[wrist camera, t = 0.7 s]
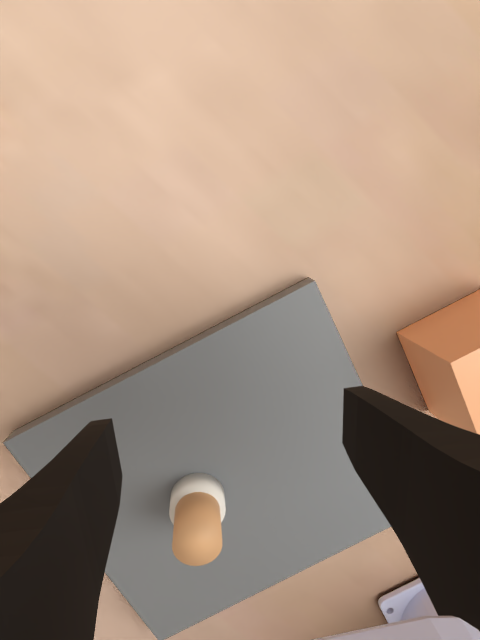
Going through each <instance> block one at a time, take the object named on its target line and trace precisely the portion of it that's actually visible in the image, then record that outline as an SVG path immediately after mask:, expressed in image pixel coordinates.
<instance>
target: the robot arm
mask: <svg viewBox="0 0 480 640" xmlns="http://www.w3.org/2000/svg"><path fill="white" fill-rule="evenodd" d="M342 443H343V446H344V448H345V450H346V452H347V455H348V457H349V459H350V461H351V463H352V465H353V467H354V469H355V471H356V473H357V474H358V476H359V477H360V479H361V481H362V482H363V484H364V485H365V487H366V488H367V490H368V492H369V493H370V495H371V496H372V498H373V499H374V501H375V502H376V504H377V505H378V507H379V508H380V510H381V511H382V513H383V515H384V516H385V518H386V519H387V521H388V522H389V524H390V525H391V527H392V528H393V530H394V531H395V533H396V535H397V536H398V538H399V540H400V542H401V543H402V545H403V547H404V549H405V551H406V553H407V554H408V556H409V558H410V560H411V562H412V564H413V566H414V568H415V570H416V572H417V574H418V576H419V578H418V579H416V580H414V581H412V582H410V583H408V584H406V585H404V586H402V587H400V588H398V589H396V590H394V591H392V592H390V593H388V594H386V595H384V596H382V597H380V599H379V600H378V605H379V607H380V609H381V611H382V613H383V614H384V616H385V618H386V620H387V622H388V624H384V625H379V626H374V627H370V628H365V629H360V630H355V631H350V632H346V633H341V634H336V635H331V636H326V637H322V638H317V639H312V640H480V435H479V434H476V433H473V432H470V431H467V430H464V429H462V428H459V427H456V426H453V425H451V424H448V423H446V422H443V421H441V420H438V419H436V418H433V417H431V416H429V415H426V414H424V413H422V412H419V411H417V410H415V409H413V408H411V407H408V406H406V405H404V404H402V403H400V402H398V401H396V400H394V399H391V398H389V397H387V396H385V395H383V394H381V393H378V392H376V391H374V390H372V389H369V388H367V387H364V386H357V387H349V388H344V396H343V433H342ZM122 476H123V475H122V469H121V464H120V459H119V453H118V448H117V443H116V437H115V432H114V426H113V421H112V418H110V419H102V420H95V421H90V422H89V423H88V424H87V425H86V426H85V427H84V428H83V429H82V430H81V431H80V432H79V433H78V434H77V435H76V436H75V437H74V438H73V439H72V440H71V441H70V442H69V443H68V444H67V445H66V446H65V447H64V448H63V449H62V450H61V451H60V452H59V453H58V454H57V455H56V456H55V457H54V458H53V459H52V460H51V461H50V462H49V463H48V464H47V465H45V466H44V467H43V468H42V469H41V470H40V471H39V472H38V473H37V474H35V475H34V476H33V477H32V478H31V479H30V480H29V481H28V482H27V483H25V484H24V485H23V486H22V487H21V488H20V489H18V490H17V491H16V492H15V493H13V494H12V495H11V496H10V497H8V498H7V499H6V500H4V501H3V502H2V503H0V640H93V639H94V631H95V624H96V616H97V609H98V602H99V596H100V591H101V586H102V581H103V577H104V572H105V568H106V564H107V559H108V555H109V551H110V547H111V542H112V538H113V534H114V529H115V525H116V521H117V516H118V512H119V507H120V498H121V487H122Z"/></svg>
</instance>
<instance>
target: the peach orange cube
mask: <svg viewBox="0 0 480 640" xmlns="http://www.w3.org/2000/svg"><path fill="white" fill-rule="evenodd" d="M397 335H398V337H399V340H400V342H401V345H402V347H403V349H404V352H405V354H406V357H407V359H408V362H409V364H410V366H411V369H412V371H413V374H414V376H415V379H416V381H417V383H418V386H419V388H420V391H421V393H422V396H423V398H424V400H425V403H426V405H427V408H428V410H429V411H430V412H431V413H432V414H433V415H434V416H436V417H437V418H438V419H439V420H441V421H443V422H446V423H448V424H451V425H453V426H456V427H459V428H462V429H464V430H467V431H470V432H473V433H476V434H479V435H480V290H478V291H476V292H474V293H472V294H470V295H468V296H466V297H464V298H462V299H460V300H458V301H456V302H454V303H452V304H450V305H448V306H446V307H444V308H443V309H441V310H439V311H437V312H435V313H433V314H431V315H429V316H427V317H425V318H423V319H421V320H419V321H417V322H415V323H413V324H411V325H409V326H407V327H406V328H404V329H402V330H400V331H398V332H397Z"/></svg>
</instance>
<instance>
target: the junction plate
mask: <svg viewBox="0 0 480 640" xmlns="http://www.w3.org/2000/svg"><path fill="white" fill-rule="evenodd" d="M357 386H363V385H362V383H361V381H360V378H359V376H358V374H357V372H356V370H355V368H354V365H353V363H352V361H351V359H350V357H349V354H348V352H347V350H346V348H345V346H344V343H343V341H342V339H341V337H340V335H339V333H338V330H337V328H336V326H335V324H334V322H333V319H332V317H331V315H330V313H329V311H328V308H327V306H326V304H325V302H324V300H323V298H322V295H321V293H320V291H319V289H318V287H317V284H316V282H315V281H314V280H313V279H311V278H309V277H308V278H306V279H304V280H302V281H301V282H299V283H297V284H295V285H293V286H291V287H289V288H287V289H285V290H283V291H281V292H279V293H277V294H276V295H274V296H272V297H270V298H268V299H266V300H264V301H262V302H260V303H258V304H256V305H254V306H253V307H251V308H249V309H247V310H245V311H243V312H241V313H239V314H237V315H235V316H233V317H231V318H229V319H228V320H226V321H224V322H222V323H220V324H218V325H216V326H214V327H212V328H210V329H208V330H206V331H204V332H203V333H201V334H199V335H197V336H195V337H193V338H191V339H189V340H187V341H185V342H183V343H181V344H180V345H178V346H176V347H174V348H172V349H170V350H168V351H166V352H164V353H162V354H160V355H158V356H156V357H155V358H153V359H151V360H149V361H147V362H145V363H143V364H141V365H139V366H137V367H135V368H133V369H131V370H130V371H128V372H126V373H124V374H122V375H120V376H118V377H116V378H114V379H112V380H110V381H108V382H107V383H105V384H103V385H101V386H99V387H97V388H95V389H93V390H91V391H89V392H87V393H85V394H83V395H82V396H80V397H78V398H76V399H74V400H72V401H70V402H68V403H66V404H64V405H62V406H60V407H58V408H57V409H55V410H53V411H51V412H49V413H47V414H45V415H43V416H41V417H39V418H37V419H35V420H34V421H32V422H30V423H28V424H26V425H24V426H22V427H20V428H18V429H16V430H14V431H13V432H12V433H11V434H10V435H9V437H8V438H7V439H6V440H5V441H4V442H3V444H4V445H5V446H6V447H7V449H8V450H9V451H10V452H11V454H12V455H13V456H14V458H15V459H16V460H17V461H18V463H19V464H20V465H21V466H22V468H23V469H24V470H25V471H26V473H27V474H28V475H29V477H30V478H32V477H33V476H34V475H35V474H37V473H38V472H39V471H40V470H41V469H42V468H43V467H44V466H45V465H47V464H48V463H49V462H50V461H51V460H52V459H53V458H54V457H55V456H56V455H57V454H58V453H59V452H60V451H61V450H62V449H63V448H64V447H65V446H66V445H67V444H68V443H69V442H70V441H71V440H72V439H73V438H74V437H75V436H76V435H77V434H78V433H79V432H80V431H81V430H82V429H83V428H84V427H85V426H86V425H87V424H88V423H89V422H90V421H95V420H102V419H110V418H112V421H113V426H114V432H115V437H116V443H117V448H118V453H119V459H120V464H121V469H122V475H123V476H122V487H121V498H120V507H119V512H118V516H117V521H116V525H115V529H114V534H113V538H112V542H111V547H110V551H109V555H108V559H107V564H106V568H105V573H106V574H107V576H108V577H109V578H110V579H111V581H112V582H113V583H114V584H115V586H116V587H117V588H118V590H119V591H120V592H121V593H122V595H123V596H124V597H125V598H126V600H127V601H128V602H129V604H130V605H131V606H132V607H133V609H134V610H135V611H136V612H137V614H138V615H139V616H140V617H141V619H142V620H143V621H144V623H145V624H146V625H147V626H148V628H149V629H150V630H151V631H152V633H153V634H154V635H155V637H156V638H157V639H158V640H165V639H167V638H169V637H171V636H173V635H175V634H177V633H179V632H181V631H183V630H185V629H187V628H189V627H191V626H193V625H195V624H197V623H199V622H201V621H203V620H205V619H207V618H209V617H211V616H213V615H215V614H217V613H219V612H221V611H223V610H225V609H227V608H229V607H231V606H233V605H235V604H237V603H239V602H241V601H243V600H245V599H247V598H249V597H251V596H253V595H255V594H257V593H259V592H261V591H263V590H265V589H267V588H269V587H271V586H273V585H275V584H277V583H279V582H281V581H283V580H285V579H287V578H289V577H291V576H293V575H295V574H297V573H299V572H301V571H303V570H305V569H307V568H309V567H311V566H313V565H315V564H317V563H319V562H321V561H323V560H325V559H327V558H329V557H331V556H333V555H335V554H337V553H339V552H341V551H343V550H345V549H347V548H349V547H351V546H353V545H355V544H357V543H359V542H361V541H363V540H365V539H367V538H369V537H371V536H373V535H375V534H377V533H379V532H381V531H383V530H385V529H387V528H389V527H391V525H390V524H389V522H388V521H387V519H386V518H385V516H384V515H383V513H382V511H381V510H380V508H379V507H378V505H377V504H376V502H375V501H374V499H373V498H372V496H371V495H370V493H369V492H368V490H367V488H366V487H365V485H364V484H363V482H362V481H361V479H360V477H359V476H358V474H357V473H356V471H355V469H354V467H353V465H352V463H351V461H350V459H349V457H348V455H347V452H346V450H345V448H344V446H343V443H342V433H343V396H344V388H349V387H357Z"/></svg>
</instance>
